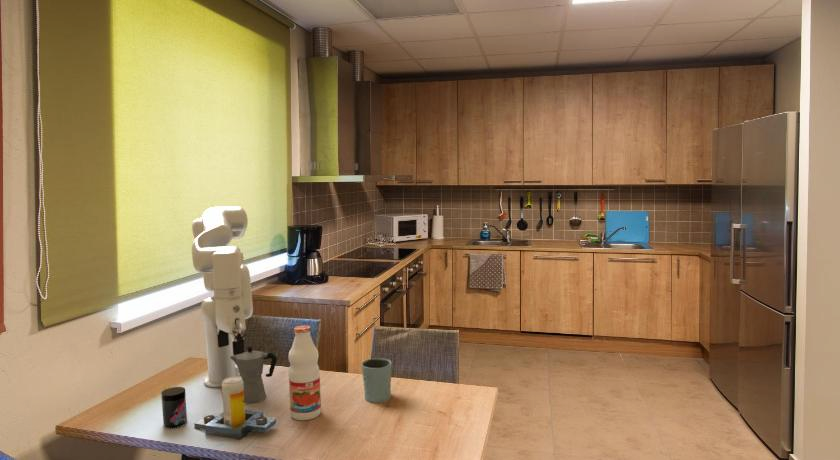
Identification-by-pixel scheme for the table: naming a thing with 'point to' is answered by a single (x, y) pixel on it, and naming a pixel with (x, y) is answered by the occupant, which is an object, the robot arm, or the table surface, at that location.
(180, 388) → the supplement container
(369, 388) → the drinking glass
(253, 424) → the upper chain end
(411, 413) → the table surface
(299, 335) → the fruit juice
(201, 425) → the lower chain end
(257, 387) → the coffeepot
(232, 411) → the beer can
